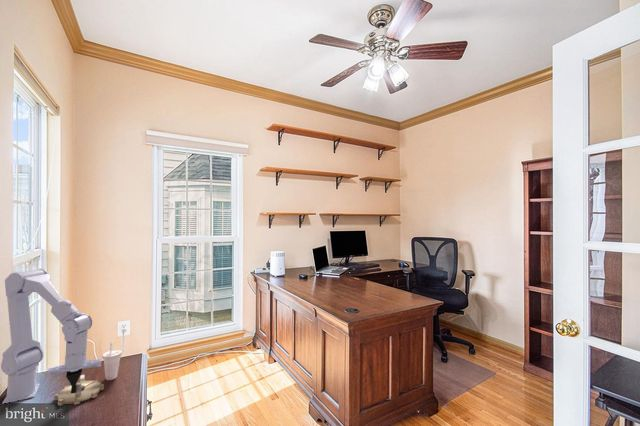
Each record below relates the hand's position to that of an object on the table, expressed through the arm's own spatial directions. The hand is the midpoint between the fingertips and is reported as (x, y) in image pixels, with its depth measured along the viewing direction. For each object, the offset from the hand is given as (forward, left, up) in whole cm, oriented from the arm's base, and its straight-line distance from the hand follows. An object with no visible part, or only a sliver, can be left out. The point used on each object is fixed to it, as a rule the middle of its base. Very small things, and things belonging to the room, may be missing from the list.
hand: (74, 391), depth 104 cm
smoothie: (-12, +11, -4) cm, 17 cm away
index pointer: (-13, +1, -4) cm, 14 cm away
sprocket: (-4, +1, -4) cm, 6 cm away
